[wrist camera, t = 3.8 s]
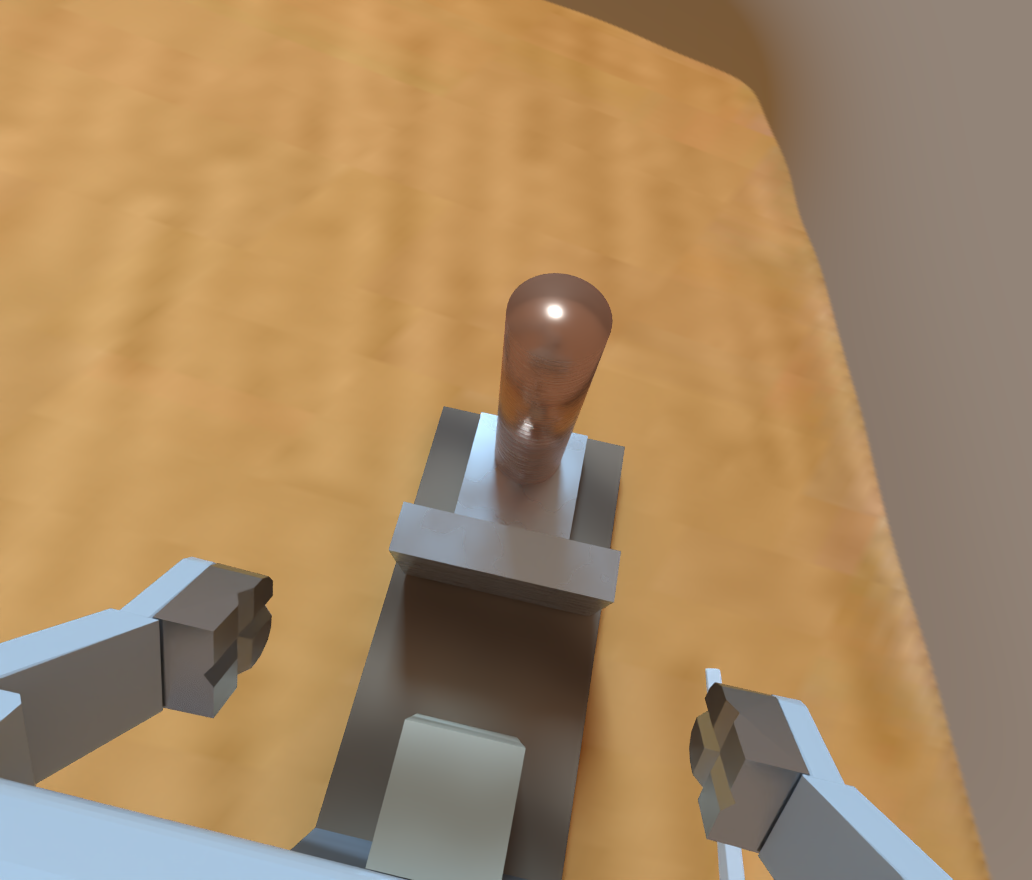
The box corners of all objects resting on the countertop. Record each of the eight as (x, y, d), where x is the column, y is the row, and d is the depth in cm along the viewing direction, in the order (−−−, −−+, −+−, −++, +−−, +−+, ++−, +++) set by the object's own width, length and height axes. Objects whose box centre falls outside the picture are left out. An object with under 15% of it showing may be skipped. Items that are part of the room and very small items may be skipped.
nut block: (493, 860, 20) (497, 900, 16) (385, 834, 20) (365, 868, 16) (517, 737, 21) (525, 748, 18) (416, 713, 22) (405, 719, 18)
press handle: (589, 616, 23) (679, 563, 13) (403, 573, 23) (348, 488, 13) (614, 451, 26) (703, 304, 16) (450, 414, 27) (435, 245, 16)
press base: (542, 958, 20) (570, 1073, 14) (301, 898, 20) (229, 986, 14) (617, 458, 28) (655, 398, 22) (445, 419, 28) (437, 349, 22)
